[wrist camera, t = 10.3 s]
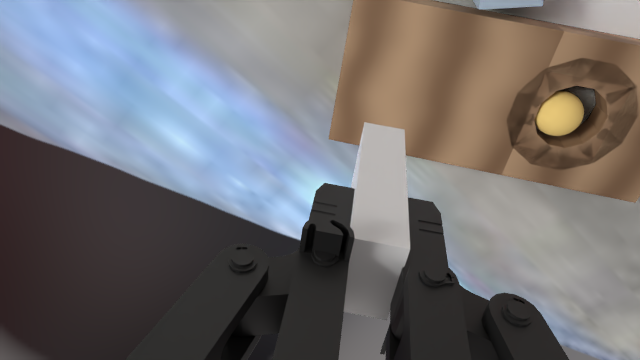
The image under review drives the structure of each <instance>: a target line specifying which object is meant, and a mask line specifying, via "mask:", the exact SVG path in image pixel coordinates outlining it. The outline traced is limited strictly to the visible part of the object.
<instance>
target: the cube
mask: <svg viewBox="0 0 640 360" xmlns="http://www.w3.org/2000/svg"><path fill="white" fill-rule="evenodd" d="M543 1H544V0H473V2H474V3H475V5H476V6H477V8H478V9H479V10H483V9H500V8H518V7H535V6H543Z"/></svg>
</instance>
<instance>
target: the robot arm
mask: <svg viewBox="0 0 640 360" xmlns="http://www.w3.org/2000/svg"><path fill="white" fill-rule="evenodd" d="M390 311H391V312H390ZM344 312H348V313H353V314H358V315H363V316H368V317H373V318H378V319H383V320H387V318H388V315H389V312H390V315H391V316H390V325H389V328H388V331H387V334H386V337H385V340H384V343H383V346H382V349H381V353H380V354H385V351H386V360H569V359H568V357H567V355H566V354H565V352H564V351H563V349H562V347H561V346H560V344H559V342H558V341H557V339H556V337H555V336H554V334H553V333H552V331H551V329H550V328H549V326H548V324H547V323H546V321H545V320H544V318H543V316H542V315H541V313H540V312H539V311H538V310H537V309H536V307H535V306H534V305H532V304H531V303H530V302H528V301H527V300H526V299H524V298H521V297H519V296H517V295H514V294H508V293H501V294H496V295H495V296H493V297H492V298H491V299H490V301H489V300H487V299H484V298H482V297H480V296H478V295H475V294H473V293H471V292H469V291H468V290H466V289H464V288H463V287H462V286H460V285H459V282H458V279H457V277H456V275H455V274H454V273H453V271H452V270H451V269H450V268H448V261H447V254H446V247H445V240H444V235H443V227H442V220H441V213H440V212H439V210H438V209H437V207H436V206H435V205H434V203H433V202H429V201H424V200H419V199H413V198H408V191H407V170H406V150H405V130H404V129H399V128H393V127H388V126H382V125H377V124H371V123H366V122H364V127H363V132H362V136H361V141H360V146H359V151H358V155H357V160H356V165H355V170H354V175H353V179H352V185H351V188H349V187H343V186H338V185H332V184H327V183H324V184H323V185H322V186H321V187H320V188H319V189H318V190H317V191H316V193H315V197H314V202H313V205H312V210H311V213H310V217H309V221H307V222H306V223H305V225H304V227H303V229H302V236H301V243H300V248H299V249H298V250H297V251H295V252H294V253H292V254H289V255H286V256H280V257H268V256H267V255H266V254H265V252H264V251H263V250H261V249H260V248H258V247H256V246H253V245H249V244H235V245H232V246H229V247H226V248H225V249H224V250H222V251H221V252H220V253H219V254H218V255H217V256H216V257H215V258H214V260H213V261H212V262H211V263H210V264H209V265H208V266H207V268H206V269H205V270H204V271H203V272H202V273H201V274H200V275H199V277H198V278H197V279H196V280H195V281H194V282H193V283H192V285H191V286H190V287H189V288H188V289H187V290H186V291H185V293H184V294H183V295H182V296H181V297H180V298H179V299H178V301H177V302H176V303H175V304H174V305H173V306H172V307H171V309H170V310H169V311H168V312H167V313H166V314H165V315H164V317H163V318H162V319H161V320H160V321H159V322H158V323H157V325H156V326H155V327H154V328H153V329H152V330H151V331H150V332H149V334H148V335H147V336H146V337H145V338H144V339H143V340H142V342H141V343H140V344H139V345H138V346H137V347H136V348H135V350H134V351H133V352H132V353H131V354H130V355H129V356H128V358H127V359H126V360H247V359H248V357H249V356H250V354H251V353H252V351H253V349H254V348H255V346H256V344H257V343H258V341H259V340H260V338H261V335H267V334H277V333H279V335H278V339H277V343H276V347H275V351H274V355H273V359H272V360H338V357H339V348H340V339H341V329H342V322H343V313H344Z"/></svg>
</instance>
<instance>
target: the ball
mask: <svg viewBox="0 0 640 360" xmlns="http://www.w3.org/2000/svg"><path fill="white" fill-rule="evenodd" d="M583 115H584V108H583V105H582V103H581V101H580V100H579V98H578V97H577V96H575V95H574V94H572V93H570V92H567V91H556V92H555V93H554V94H552V95H551V96H550V97H549V98H548V99H546V100H545V101H544V102H543V103H541V106H540V108H539V110H538V112H537V115H536V117H535V119H534V120H535V124H536V126H537V127H538V128H539V129H540V130H541V131H542V132H544V133H545V134H548V135H552V136H562V135H566V134H569V133H570V132H572V131H574V130H575V129H576V128H577V127H578V126H579V125H580V123H581V122H582V119H583Z"/></svg>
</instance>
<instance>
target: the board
mask: <svg viewBox="0 0 640 360" xmlns="http://www.w3.org/2000/svg"><path fill="white" fill-rule="evenodd" d="M573 86H582V87H587V88H592V89H594V90H595V100H596V105H595V107H594V109H593V111H592V113H591V115H590V116H589V118H588V120H586V121H585V122H584V123H582V124H581V125H580V126H578V127H577V128H576V129H575V130H574V131H572V132H570V133H569V134H566V135H562V136H552V135H548V134H545V133H544V132H542V131H539V130H538V129H537V128H536V126H535V120H534V119H535V117H536V115H537V112H538V110H539V108H540V106H541V103H543V102H544V101H545V100H546V99H548V98H549V97H550V96H551V95H552V94H554V93H555V92H556V91H558V90H562V89H566V88H569V87H573ZM364 122H366V123H371V124H377V125H382V126H388V127H393V128H399V129H404V130H405V150H406V155H408V156H413V157H417V158H422V159H427V160H432V161H437V162H442V163H446V164H451V165H456V166H461V167H466V168H471V169H475V170H480V171H485V172H490V173H495V174H499V175H504V176H509V177H514V178H519V179H524V180H528V181H533V182H538V183H543V184H548V185H553V186H557V187H562V188H567V189H572V190H577V191H582V192H586V193H591V194H596V195H601V196H606V197H610V198H615V199H620V200H625V201H630V202H636V201H637V199H638V198H639V196H640V39H635V38H630V37H624V36H619V35H614V34H608V33H603V32H598V31H593V30H587V29H582V28H577V27H571V26H566V25H561V24H555V23H550V22H545V21H539V20H534V19H529V18H524V17H518V16H513V15H508V14H502V13H497V12H492V11H486V10H479V9H476V8H470V7H465V6H460V5H454V4H449V3H444V2H439V1H433V0H353V6H352V11H351V17H350V23H349V28H348V34H347V39H346V45H345V51H344V56H343V62H342V67H341V73H340V78H339V84H338V90H337V95H336V101H335V106H334V112H333V117H332V123H331V129H330V134H329V139H331V140H335V141H340V142H345V143H350V144H355V145H360V141H361V136H362V132H363V127H364Z"/></svg>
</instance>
